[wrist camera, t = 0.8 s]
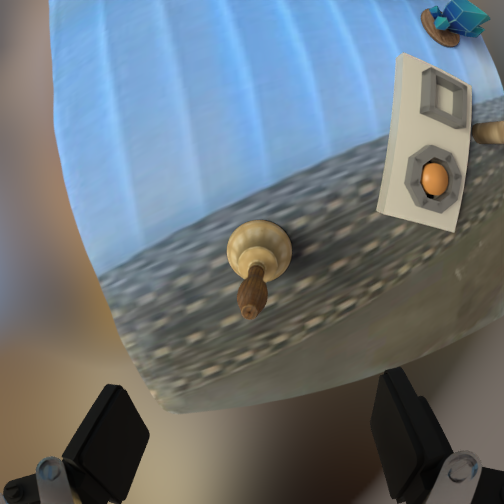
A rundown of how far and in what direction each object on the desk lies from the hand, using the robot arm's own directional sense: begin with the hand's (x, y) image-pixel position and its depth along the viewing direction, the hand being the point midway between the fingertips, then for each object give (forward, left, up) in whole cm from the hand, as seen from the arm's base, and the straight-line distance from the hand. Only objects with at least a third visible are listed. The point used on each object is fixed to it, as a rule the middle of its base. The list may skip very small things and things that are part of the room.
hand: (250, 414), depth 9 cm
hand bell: (+3, 0, -28) cm, 29 cm away
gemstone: (-37, +22, -28) cm, 52 cm away
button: (-11, +20, -26) cm, 35 cm away
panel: (-16, +20, -28) cm, 38 cm away
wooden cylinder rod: (-21, +30, -28) cm, 46 cm away
